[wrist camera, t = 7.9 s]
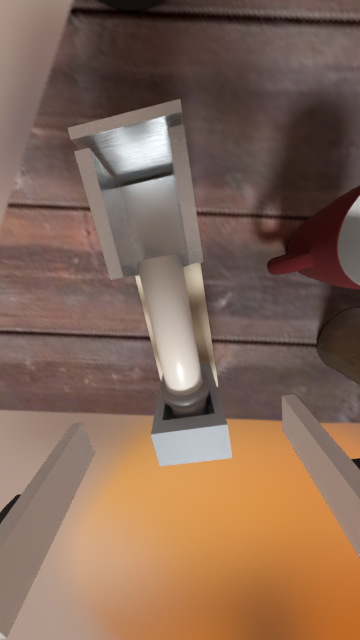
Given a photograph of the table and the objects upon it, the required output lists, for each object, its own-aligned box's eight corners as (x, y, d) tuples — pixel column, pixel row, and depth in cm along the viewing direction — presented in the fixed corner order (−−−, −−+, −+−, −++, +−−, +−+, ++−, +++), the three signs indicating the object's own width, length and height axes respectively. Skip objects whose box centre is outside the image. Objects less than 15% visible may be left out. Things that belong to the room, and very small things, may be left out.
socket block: (163, 371, 26) (150, 434, 16) (210, 363, 26) (227, 424, 16) (168, 393, 27) (160, 466, 17) (213, 387, 27) (232, 457, 17)
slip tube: (138, 265, 18) (121, 263, 13) (187, 255, 18) (188, 250, 13) (171, 406, 23) (168, 443, 18) (210, 400, 23) (218, 437, 18)
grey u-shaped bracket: (121, 193, 20) (67, 127, 11) (181, 180, 20) (180, 98, 10) (140, 275, 23) (110, 279, 13) (194, 265, 22) (203, 261, 13)
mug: (265, 302, 24) (320, 323, 14) (242, 246, 22) (287, 228, 13) (344, 262, 22) (464, 257, 13) (326, 199, 21) (450, 137, 11)
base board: (117, 195, 21) (114, 192, 20) (187, 179, 20) (187, 175, 20) (164, 391, 28) (164, 394, 27) (217, 383, 28) (218, 386, 27)
